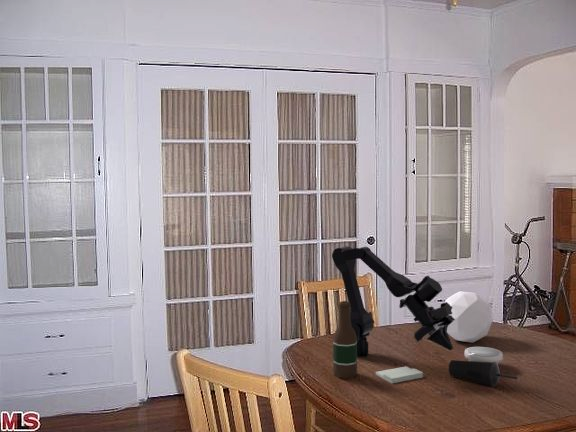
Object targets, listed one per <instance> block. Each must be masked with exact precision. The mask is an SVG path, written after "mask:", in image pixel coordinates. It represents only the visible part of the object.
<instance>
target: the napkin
mask: <svg viewBox="0 0 576 432" xmlns="http://www.w3.org/2000/svg"><path fill="white" fill-rule="evenodd" d="M375 375H376V376H378V377H379V378H381V379H382V380H384V381H387V382H388V383H390V384H396V383H400V382H405V381H411V380H416V379H420V378H421V379H422V378H424V373H423V371H421V370H418V369H417V368H410V367H408V366H401V367H396V368H391V369H385V370H384V369H383V370H380V371H375Z"/></svg>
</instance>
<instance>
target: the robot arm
mask: <svg viewBox="0 0 576 432" xmlns="http://www.w3.org/2000/svg"><path fill="white" fill-rule="evenodd" d="M331 258H332V261H333V264H334V265H335V267H336V268H337V270H338V271H339V272H340V274H341V277H342V278H341V279H342V281H343V284H344V289H345V293H346V298H347V301H348V302H350V320H351V326H352V328H353V329H354V331H355V333H356V337H357V358H360V357H361V358H363V357H364V358H366V357H367V358H368V357H369V341H368V340H367V339H368V338H367V337H369V336H370V334H371V332H372V331H373V329H374V326H375V325H374V323H375V321H374V318H373V313H372V311H369V312H368V311H367V310H366V309H365V306H364V302H363V299H362V295H361V291H360V287H359V282H358V279H357V275H356V271H355V267H356V260H358V259H359V260H360V261H362V262H363V263H364V264H365V265H366V266H367V267H368V268H369V269H371V270H372V271H373V272H374V273H375V274H376V275H377V276H378V277H379V278H380V279H381V280H383V282H384V283H385V286H386V288H387V289H388V290H389V292H390V293H391V294H392V295H393V296H394V297H395V298H402V299H399V309H402V308H405V307H406V308H407V309H408V310H409V312H410V313H411V315H412V316H413V317H414V318H413V321H414V322H418V323H419V324H420V325H421V327H420V328H418V329H417V330H416V331H415V332H414V333H413V338H414V340H415V341H416V342H417V343H419V342H421V341H423V339H424V337H425V336H429V337H427V339H426V340H427V341H431V342H433V343H435V344H436V345H437V344H438V345H439V346H441V347H443V348H445V349H447V350H448V351H452V350H453V349H454V347H453V345H452V342H451V339H450V337H449V336H450V335H449V334H448V333H447V327H448V325H449V324H451V323H452V322H453V321H454V320H455V319H454V318H453V317H452V316H451V315H450V314H452V311H451V310H452V306H450V304H448V303H447V302H445V301H444V302H442V303H440V306H439V307H438V308H434V306H431V305H430V306H429V305H428V304H427V303H426V302H428V303H430V302H431V301H433V300H434V299H435V297H437V296H438V295H439V294H440V293H441V292H442V291H443V287H442V286H441V284H440V283H439V282H438V281H436V280H435V279H434V278H432V277H430V276H429V275H426V276H424V277H423V278H422V280H421V281H420V282H419V283H417V282H413V281H412V280H411V279H409V278H408V277H406V276H405V275H403V274H401V273H399V272H396V271H395V270H393V269H392V268H391V267H389V265H387V263H385V262H384V261H383V260H382V259H381V258H380V257H378V256H377V255H376V254H375V253H374V252H373V251H372V249H370V247H368V246H362V247H354V248H353V247H351V246H349V245H348V246H343V247H337V248H335V249H334V250H333V251H332V253H331ZM412 293H413V294H412ZM405 296H407V297H405ZM403 297H405V298H403Z"/></svg>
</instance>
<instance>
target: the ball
mask: <svg viewBox="0 0 576 432" xmlns="http://www.w3.org/2000/svg"><path fill="white" fill-rule="evenodd" d="M445 302H447V303H448V304H450V306H452V310H451V311H452V314H450V315H451V316H452V317H453V318H454V319H455V320H454V321H453V322H452V323H451V324H449V325H448V327H447V333H448V336H450V337H452V338H453V339H454V340H455V341H460V342H466V343H475V342H477V341H478V340H480V339H482V338H484V337H486V336H487V335H488V333H489V331H490V329H491V326H492V323H493V320H494V318H493V311H492V309H491V307H490V303H488V302H487V301H486V300H485V299H484V298H482V297H481V296H480V295H479V294H478V293H477V292H471V291H462V290H460V291H457V292H456V293H453V295H450V296H448V297H447V298H446V299H445V301H444V303H445Z"/></svg>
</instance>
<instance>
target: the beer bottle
mask: <svg viewBox="0 0 576 432" xmlns="http://www.w3.org/2000/svg"><path fill="white" fill-rule="evenodd" d="M338 306H339V313H338V315H339V316H338V318H339V319H338V325H337V328H336V329H335V331H334V334H333V341H332V342H333V343H332V358H333V359H332V361H333V362H332V364H333V365H332V367H333V376H335V377H337V378H339V379H344V378H345V379H347V380H348V379H353V378H355V377H356V376H357V373H358V357H357V337H356V333H355V331H354V329H353V328H352V326H351V320H350V315H351V309H350V302H349V301H348V300H347V301H346V300H342V301H339V304H338ZM345 379H344V380H345Z"/></svg>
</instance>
